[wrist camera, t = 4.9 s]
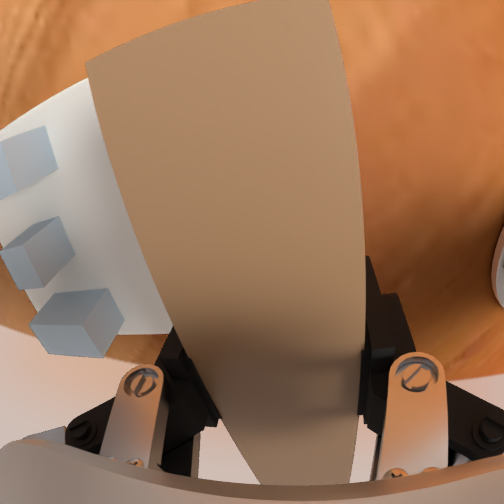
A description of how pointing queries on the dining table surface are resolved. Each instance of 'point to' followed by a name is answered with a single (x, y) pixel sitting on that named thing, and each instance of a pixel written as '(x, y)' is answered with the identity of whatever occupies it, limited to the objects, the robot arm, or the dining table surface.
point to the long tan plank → (250, 219)
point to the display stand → (72, 231)
